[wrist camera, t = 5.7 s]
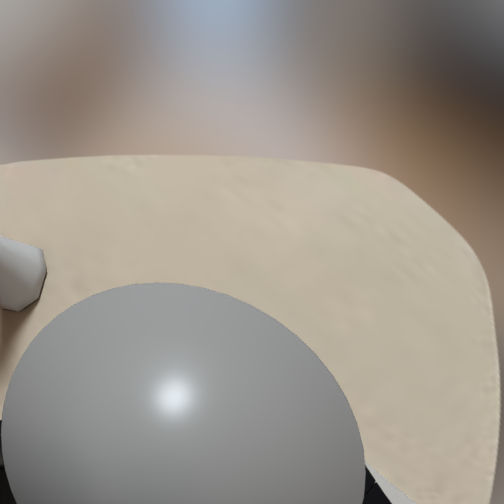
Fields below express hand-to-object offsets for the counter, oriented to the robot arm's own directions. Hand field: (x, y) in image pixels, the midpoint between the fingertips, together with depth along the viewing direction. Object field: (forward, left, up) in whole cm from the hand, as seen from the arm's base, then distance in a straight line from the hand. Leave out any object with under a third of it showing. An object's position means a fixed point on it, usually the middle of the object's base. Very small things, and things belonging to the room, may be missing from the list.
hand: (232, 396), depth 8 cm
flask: (-11, +23, -13) cm, 28 cm away
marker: (-1, -1, -7) cm, 7 cm away
